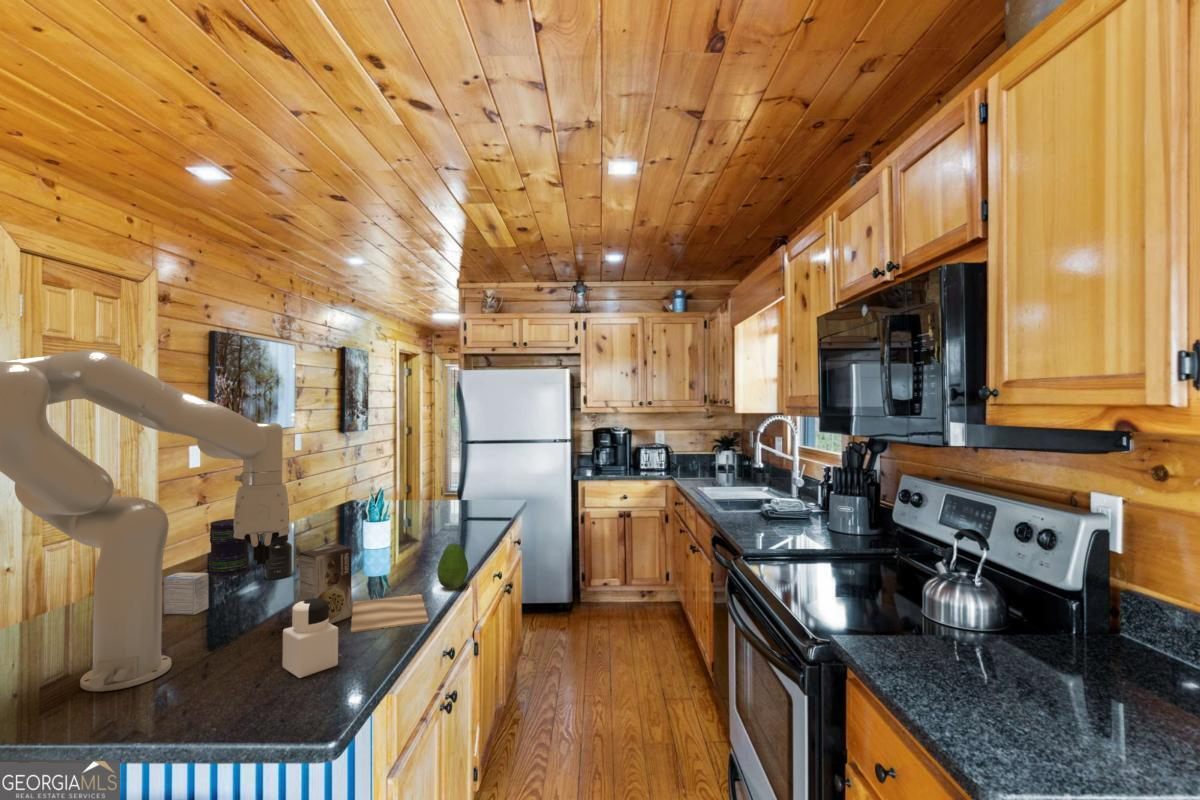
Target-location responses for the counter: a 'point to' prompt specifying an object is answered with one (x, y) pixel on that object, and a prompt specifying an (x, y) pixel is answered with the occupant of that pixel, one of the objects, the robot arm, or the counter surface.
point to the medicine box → (186, 593)
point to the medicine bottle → (310, 639)
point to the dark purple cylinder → (227, 550)
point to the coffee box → (328, 579)
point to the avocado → (452, 567)
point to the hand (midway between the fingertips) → (262, 563)
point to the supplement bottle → (279, 559)
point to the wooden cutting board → (388, 613)
